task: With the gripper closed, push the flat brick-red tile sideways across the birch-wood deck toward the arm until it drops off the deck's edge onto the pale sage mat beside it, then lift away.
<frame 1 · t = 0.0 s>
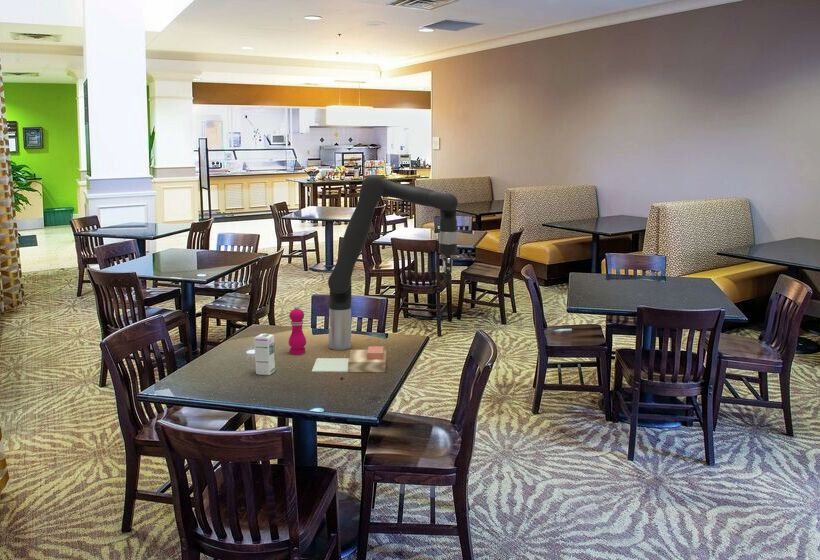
hand: (447, 280, 288), 29 cm above the table, fingers open, 8 cm apart
deck: (367, 365, 269), on the table
syrup box: (265, 373, 260), on the table
mat: (331, 365, 269), on the table
pepper mill: (297, 352, 286), on the table
tile: (375, 352, 268), point 5 cm above the table, touching deck
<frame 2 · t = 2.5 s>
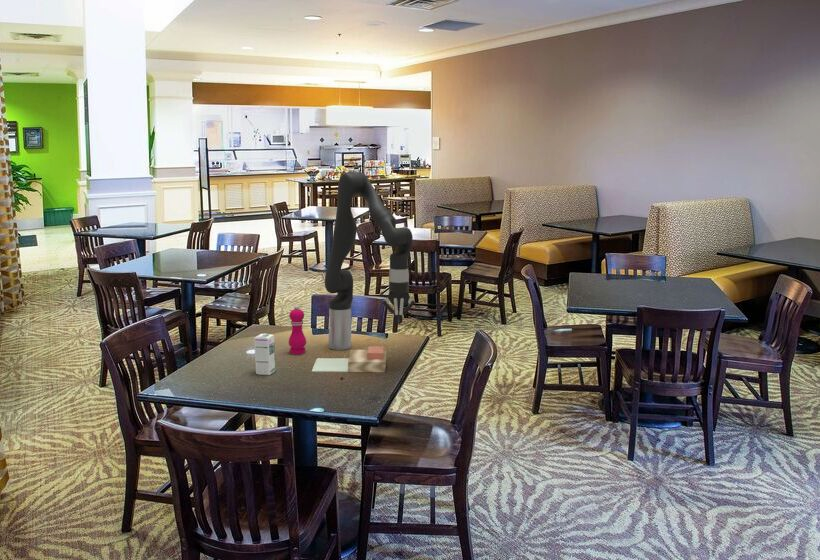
hand: (398, 323, 266), 17 cm above the table, fingers closed
nothing on the table moved.
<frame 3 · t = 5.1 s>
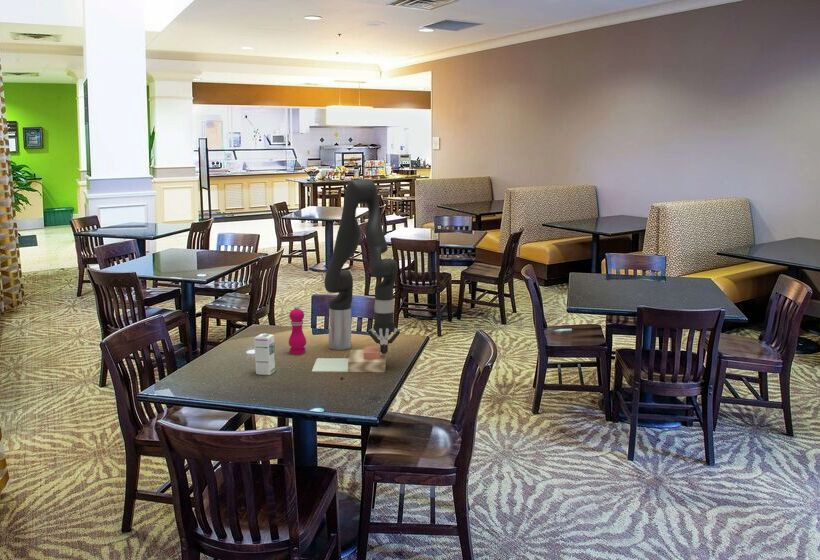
hand: (384, 353, 268), 5 cm above the table, fingers closed
tile: (372, 352, 268), point 5 cm above the table, touching deck, gripper
everything else where it was.
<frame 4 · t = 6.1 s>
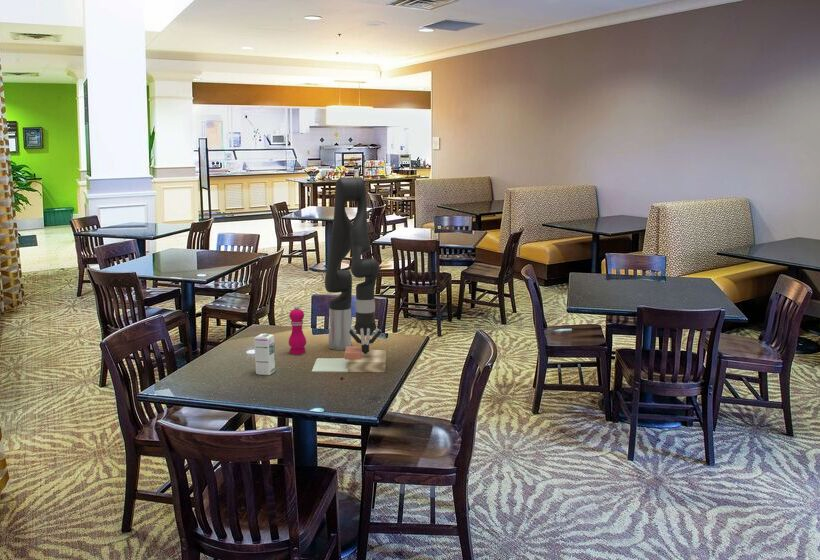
hand: (365, 353, 268), 5 cm above the table, fingers closed
tile: (353, 352, 268), point 5 cm above the table, touching deck
everything else where it was.
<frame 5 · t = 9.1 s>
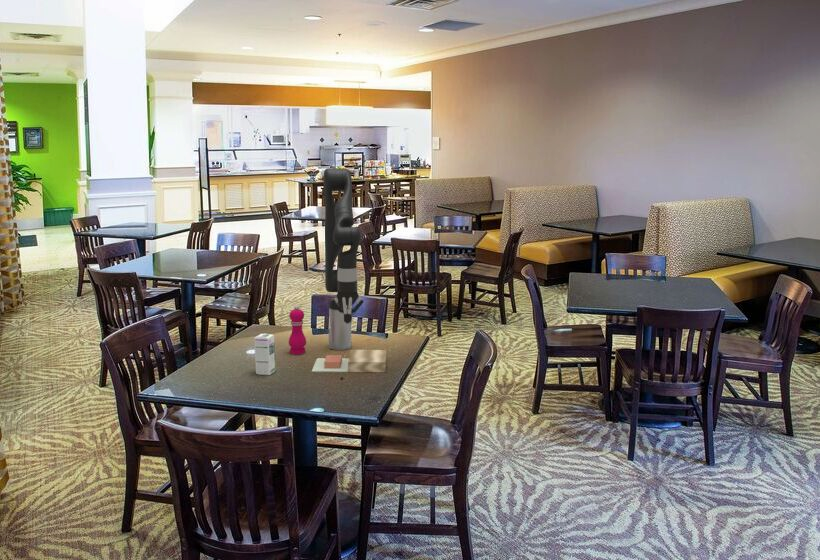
hand: (347, 322, 267), 17 cm above the table, fingers closed
tile: (333, 361, 268), point 2 cm above the table, tilted 180°, touching mat
everything else where it was.
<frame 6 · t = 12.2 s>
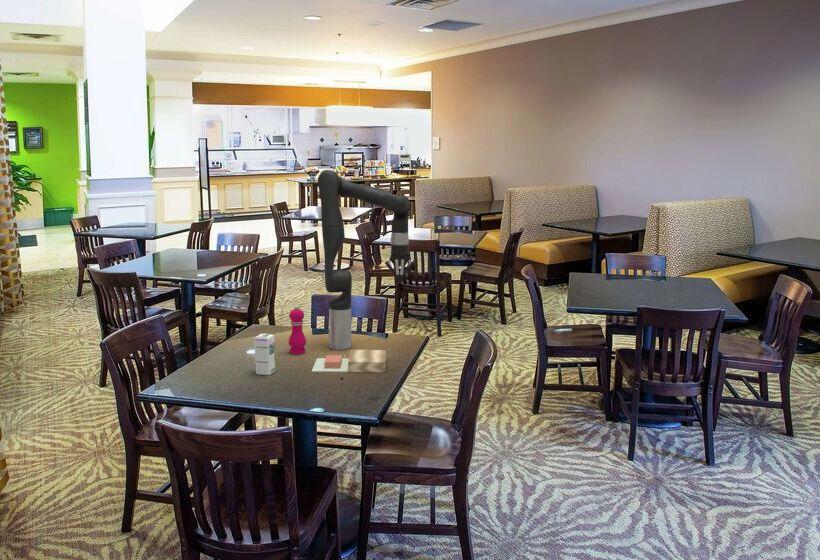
hand: (399, 283, 294), 27 cm above the table, fingers closed
nothing on the table moved.
at the end: tile inside the target area on the mat (0.7 cm from its centre), point 1.6 cm above the mat's base; tile point 1.6 cm above the table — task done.
